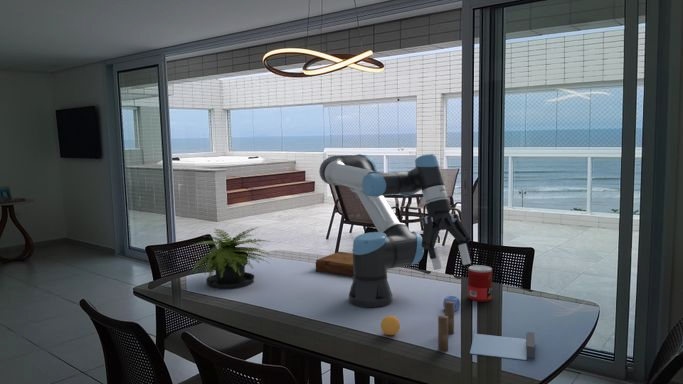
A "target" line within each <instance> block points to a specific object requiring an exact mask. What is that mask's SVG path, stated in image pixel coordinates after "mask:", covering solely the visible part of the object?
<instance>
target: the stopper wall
mask: <svg viewBox="0 0 683 384" xmlns="http://www.w3.org/2000/svg"><path fill="white" fill-rule="evenodd" d="M525 334H526V335H525V337H526V338H525V339H526V354H527V358H528V359H535V358H536V341H535V340H536V339H535V332H531V331H526V333H525Z"/></svg>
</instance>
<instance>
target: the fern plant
mask: <svg viewBox="0 0 683 384" xmlns="http://www.w3.org/2000/svg"><path fill="white" fill-rule="evenodd" d="M255 229H258V227H255V228H250V229H246V231H241V232H240V233H239V234H238V235H235V236H234V237H231V236H230V233H229V232H228V231H225V230H222V229H220V228H214V229H213V230H214V234H217V236H216V237H214V236H205V235H204V238H205V237H208V238H211V239H213V240H206V241H205V240H203V241H200V242H197V243H192V244H190V245H189V247H192V246H196V245H198V246H199V245H206V246H207V245H211V244H212V245H215V246H214V247H212V248H209V249H206V250H205V248H204V249H203V250H201V251H195V252H193V253H192V254H191V255H194V256H193V257H191V259H193V258H196V257H197V258H199V257H201V258H200V260H197V261H196V262H194V263H192V264H191V265H190V266H189V269H191V268H192V267H193V266H194V267H193V268H192V271H191V272H190V273H189V275H190V274H192V273H193V271H194V270H195V272H194V273H193V275H195V274H196V273H197V272H198V270H199V268H200V269H202V268H203V267H205V269H204V271H205V272H204V275H206V274H207V272H208V277H207V278H206V286H207V287H209V288H210V289H215V290H235V289H241V288H246V287H248V286H251V285H252V284H254V282H255V275H254V274H252V273H250V272H246V271H245V269H246V266H249V267H250V268H251V269H252V270H253V269H254V265H252V263H251V262H250V260H253V261H255V262H257V263H258V264H260V261H262V262H266V263H267V264H270V262H268V261H267V260H265V259H264V258H267V259H268V260H269V259H270V260H271V258H269V257H268V256H272V254H270V253H268V251H266V250H264V249H260V248H259V247H246V246H245V247H244V246H241V245H245V244H250V243H251V244H255V245H257V246H260V244H259V243H258V242H266V243H267V242H268V243H271V241H270V240H266V239H259V238H254V239H252V238H251V237H253V236H254V234H249V232H252V231H254V230H255ZM246 238H248V239H246ZM245 239H246V240H245ZM205 253H207V254H206V255H202V254H205ZM258 253H259V254H258ZM262 254H265V255H267V256H265V255H262ZM188 256H190V254H188V255H186V256H184V258H186V257H188ZM261 257H263V258H261ZM214 272H215V273H214Z"/></svg>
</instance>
